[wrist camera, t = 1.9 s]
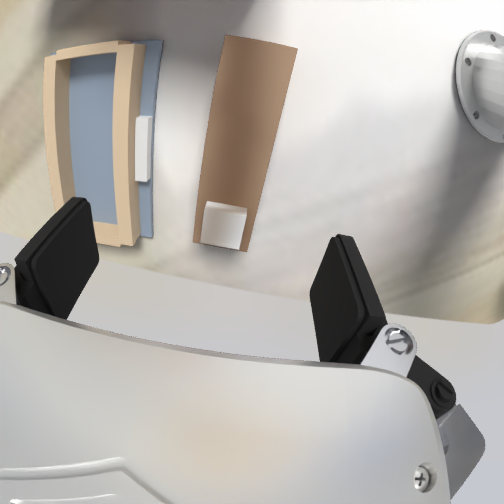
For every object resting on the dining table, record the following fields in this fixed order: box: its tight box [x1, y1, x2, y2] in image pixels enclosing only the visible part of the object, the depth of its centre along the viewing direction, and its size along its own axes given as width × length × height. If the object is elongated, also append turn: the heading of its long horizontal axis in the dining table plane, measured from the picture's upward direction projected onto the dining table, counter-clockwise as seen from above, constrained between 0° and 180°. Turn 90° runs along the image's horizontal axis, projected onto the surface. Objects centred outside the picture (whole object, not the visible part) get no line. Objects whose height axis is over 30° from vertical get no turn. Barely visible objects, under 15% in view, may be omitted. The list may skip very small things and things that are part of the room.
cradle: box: [43, 40, 163, 247], centre depth 22 cm, size 12×20×3 cm, turn 170°
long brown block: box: [193, 35, 298, 252], centre depth 20 cm, size 4×16×7 cm, turn 168°
